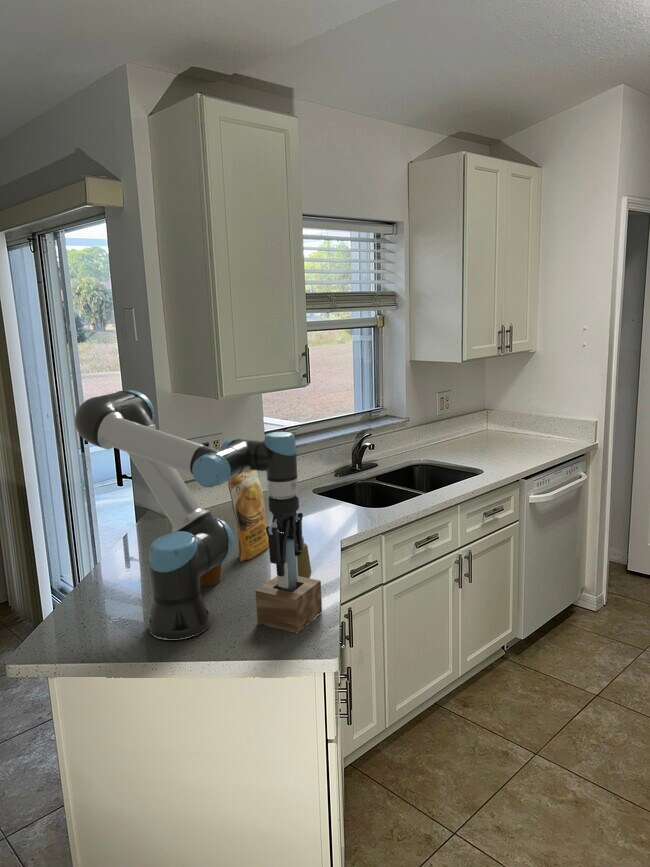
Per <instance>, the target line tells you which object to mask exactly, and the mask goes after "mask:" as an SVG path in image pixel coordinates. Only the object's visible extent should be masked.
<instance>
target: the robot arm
mask: <svg viewBox="0 0 650 867" xmlns="http://www.w3.org/2000/svg"><path fill="white" fill-rule="evenodd" d="M154 413H155V409H154V406H153V404H152V402H151V400H150V399H149V398H148V397H147V396H146V395H145V394H143V393H142V392H140V391H137V390H133V389H132V390H131V389H129V390H119V391H116V392H113V393H109V394H108V393H107V394H103V395H99V396H94V397H91V398H88V399H87V400H85V401H83V403H81V404H80V406H79V407H78V409H77V410H76V413H75V418H74V424H75V429H76V431H77V433H78V434H79V436H80V437H81V438H82V439H83V440H84V441H86V442H87V443H89V444H91V445H94V446H96V447H98V448H102V449H105V450H111V449H113V448H115V449H117V450H120V451H123V452H125V453H126V454H127V455H128V456H129V458H130V459H131V461H132V462H133V464H134V465H135V467H136V469H137V471H138V472H139V474H140V475H141V477H142V479H143V480H144V482H145V483H146V485H147V486H148V488H149V490H150V491H151V493H152V494H153V496H154V498H155V500H156V501H157V503H158V504H159V506H160V507H161V509H162V511H163V512H164V514H165V515H166V517H167V519H168V520H169V522H170V523H171V525H172V530H171V532H170V533H169V534H168V533H164V534H163V535H161V536H159V537H157V538H156V539H154V540H153V541H152V543H151V544H150V547H149V550H148V556H149V557H148V564H149V569H150V570H149V571H150V578H151V587H152V596H153V597H152V599H153V604H152V608H151V612H150V618H149V621H148V628H149V630H150V632H151V633H152V634H153V635H155V636H157V637H161V638H167V639H180V638H185V637H189V636H192V635H196V634H198V633H200V632H202V631H203V630H205V629H206V628H207V627H208V626H209V627H210V625H211V617H210V612H209V610H208V609H207V607H206V603H205V601H204V599H203V597H202V595H201V593H202V592H201V585H200V580H199V578H200V576H202V575H203V574H205V573H206V572H208V571H209V570H211V569H212V568H214V567H215V566H217V565H219V564H220V563H221V564H222V563H223V562H224V561H225V560H226V559H227V558H228V557H229V556H230V554H231V553H232V551H233V546H234V541H235V540H234V534H233V531H232V529H231V528H230V526H229V525H228V523H227V522H225V520H222V519H220V518H218V517H217V518H215V517H213V515H212V513H211V512H210V510H208V509H203V508H202V507H200V505H199V504H198V502H197V500H196V499H195V497H194V496H193V494H192V493H191V491H190V489H189V488H188V485H187V484H186V483H185V481H184V479H183V478H182V476H181V475H180V473H179V472H178V471H180V472H183V473H186V474H188V475H192V476H193V478H194V480H195V481H196V482H197V483H198V484H199V485H200V486H202V487H204V488H214V487H216V486H221V485H222V484H224V483H226V482H228V480H229V479H231V478H233V477H235V476H237V475H239V474H241V473H243V472H245V471H247V470H257V472H258V471H261V472H266V482H267V483H266V484H267V495H268V497H267V498H268V510H269V512H270V513H272V515H273V516H272V521H271V522H272V524H270V526H267V527H266V532H267V535H268V543H269V548H268V551H269V552H268V553H269V562H270V564H275V565H276V576H277V577H278V586H279V587H283V588H288V587H289V584H288V566H287V563H286V562H285V555H286V538H290V539H294V549H295V567H296V581H298V557H297V555H298V556H300V555H301V552H299V550H302V536H303V525H302V524H303V517H304V516H303V515H304V514H303V512H299V511H298V510H299V508H300V497H299V495H298V493H299V484H298V482H299V480H298V465H297V464H298V463H297V454H298V453H297V452H298V449H297V447H296V446H297V445H296V444H297V443H296V437H295V435H294V434H293V433H292V432H287V431H275V432H270V433H267V434H265V436H264V440H261V439H260V440H257V439H256V440H255V439H243V438H234V439H233V438H232V439H231V438H230V439H226V440H225V441H223V444H222V445H221V446H220V448H217V449H216V448H213V447H209V446H206V445H204V444H201V443H198V442H195V441H192V440H188V439H185V438H183V437H179V436H176V435H174V434H171V433H167V432H164V431H162V430H159V429H156V428H157V426H156V424H155V423H154V420H155V414H154ZM209 624H210V625H209ZM209 627H208V628H209ZM208 628H207V629H208ZM205 631H206V630H205ZM150 632H149V633H150Z"/></svg>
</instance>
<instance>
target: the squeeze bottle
mask: <svg viewBox="0 0 650 867" xmlns="http://www.w3.org/2000/svg"><path fill="white" fill-rule="evenodd" d="M299 552H301V555H300V556H298V555H297V557H298V576H300V577H305V578H310V579H311V575H312V567H311V561H310V553H309V548H308V544H307V543H305V538H304V536H303V535H302V550H299Z"/></svg>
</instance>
